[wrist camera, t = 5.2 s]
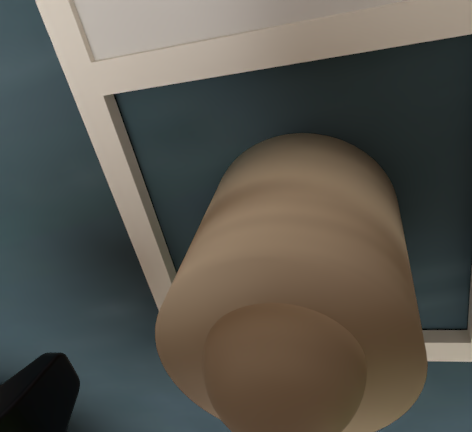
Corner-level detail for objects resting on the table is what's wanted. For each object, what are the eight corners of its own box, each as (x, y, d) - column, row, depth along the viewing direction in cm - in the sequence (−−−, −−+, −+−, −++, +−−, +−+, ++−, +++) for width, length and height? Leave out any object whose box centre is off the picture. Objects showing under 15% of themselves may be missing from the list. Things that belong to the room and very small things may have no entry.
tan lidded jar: (401, 283, 13) (440, 534, 8) (235, 288, 14) (172, 504, 9) (395, 120, 11) (447, 323, 5) (196, 145, 12) (77, 327, 7)
